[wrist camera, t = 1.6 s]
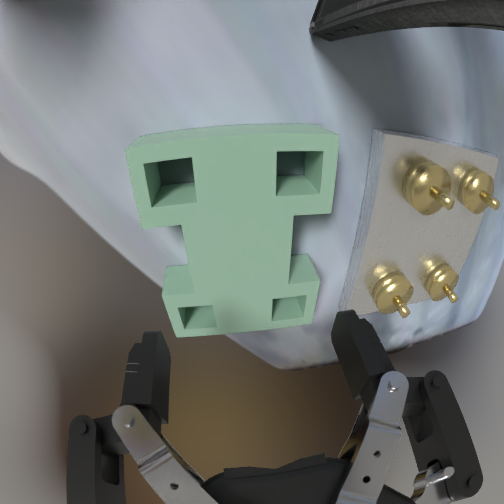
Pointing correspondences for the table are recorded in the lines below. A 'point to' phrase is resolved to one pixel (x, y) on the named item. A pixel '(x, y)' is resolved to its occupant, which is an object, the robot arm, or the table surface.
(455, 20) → the phone
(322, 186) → the board
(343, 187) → the table surface
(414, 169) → the chassis
